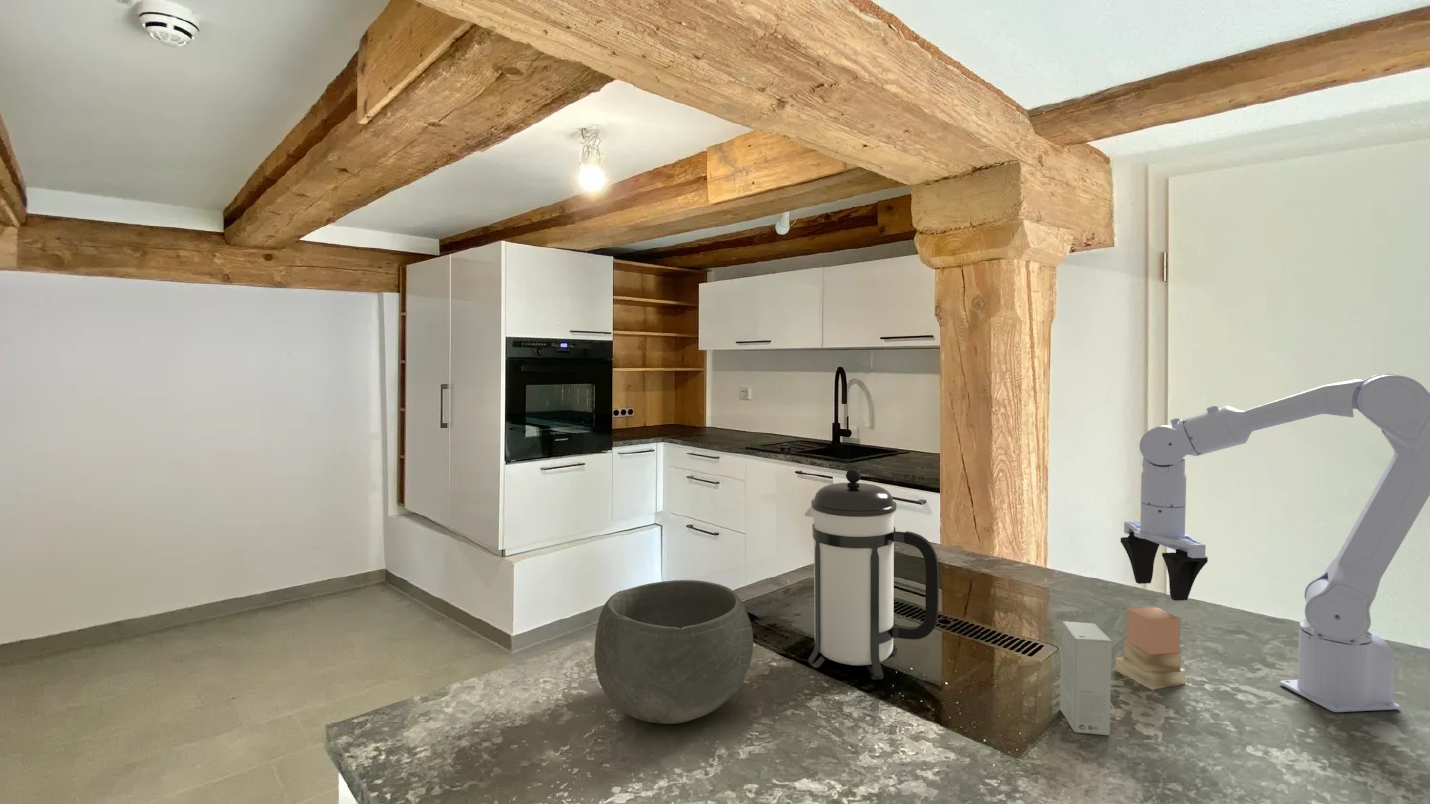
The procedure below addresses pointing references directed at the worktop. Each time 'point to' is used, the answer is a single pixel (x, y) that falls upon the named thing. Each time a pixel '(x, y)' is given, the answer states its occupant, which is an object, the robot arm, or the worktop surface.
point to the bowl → (672, 649)
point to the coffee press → (861, 575)
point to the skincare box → (1086, 678)
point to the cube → (1153, 630)
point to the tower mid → (1152, 660)
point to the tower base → (1149, 675)
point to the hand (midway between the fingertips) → (1160, 591)
